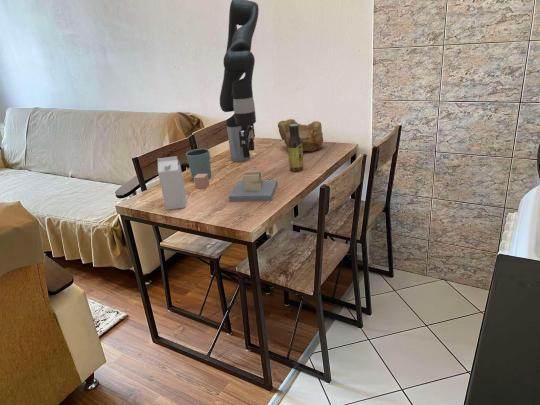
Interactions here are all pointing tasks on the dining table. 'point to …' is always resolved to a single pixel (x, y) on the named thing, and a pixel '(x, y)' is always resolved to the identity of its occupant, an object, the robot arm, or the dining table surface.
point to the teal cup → (199, 162)
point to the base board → (254, 192)
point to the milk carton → (172, 183)
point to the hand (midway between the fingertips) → (249, 153)
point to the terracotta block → (201, 181)
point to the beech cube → (252, 180)
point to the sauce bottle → (295, 149)
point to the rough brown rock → (303, 134)
